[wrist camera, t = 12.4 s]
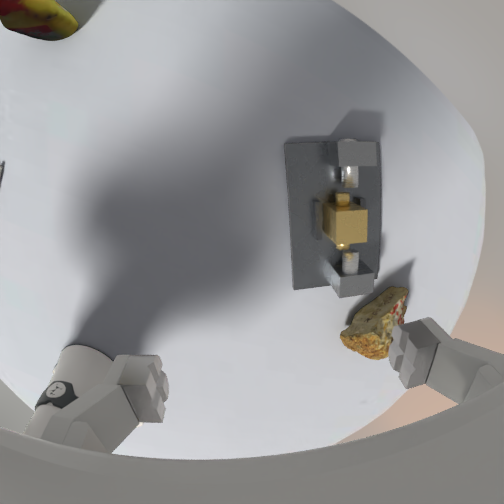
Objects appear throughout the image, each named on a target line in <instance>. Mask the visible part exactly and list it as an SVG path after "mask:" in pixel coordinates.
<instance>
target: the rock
mask: <svg viewBox="0 0 504 504" xmlns="http://www.w3.org/2000/svg"><path fill="white" fill-rule="evenodd" d="M407 294H408V289H407V288H404V287H399V288H396V287H392V286H391V287H389V288H388V289H387V290H385V291H384V292H383V293H381V294H380V295H379V296H378V297H377V298H376V299H374V300H373V301H372V302H370V303H368V304H367V305H365V306H364V307H363V308H361V309H360V310H359V311H358V312H357V313H356V314H355V315H354V318H353V321H352V324H351V325H350V326H349V327H348V328H347V329H346V330H343V331H342V332H341V334H340V339H341V340H342V342H343V344H344V345H345V346H346V347H347V348H349V349H351V350H352V351H357V352H358V353H359V354H361V355H363V356H365V357H367V358H369V359H374V360H380V359H383V358H386V357H388V356H389V355H388V352H389V346H390V344H391V343H392V342H393V340H394V339H393V337H392V336H391V335H392V330H393V328H394V326H396V325H401V324H404V318H403V317H404V314H405V312H406V309H407V307H406V306H404V300H405V298H406V296H407Z"/></svg>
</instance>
